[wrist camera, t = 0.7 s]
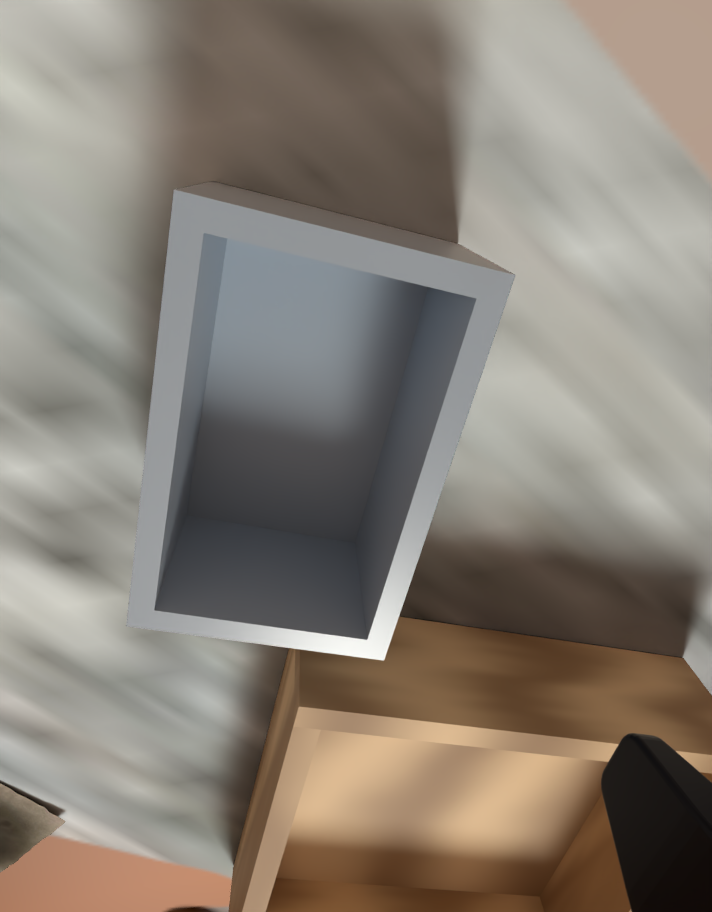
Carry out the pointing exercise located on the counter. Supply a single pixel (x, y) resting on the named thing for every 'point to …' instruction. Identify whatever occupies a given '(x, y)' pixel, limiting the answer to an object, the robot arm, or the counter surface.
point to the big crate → (454, 773)
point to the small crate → (301, 419)
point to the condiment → (22, 825)
